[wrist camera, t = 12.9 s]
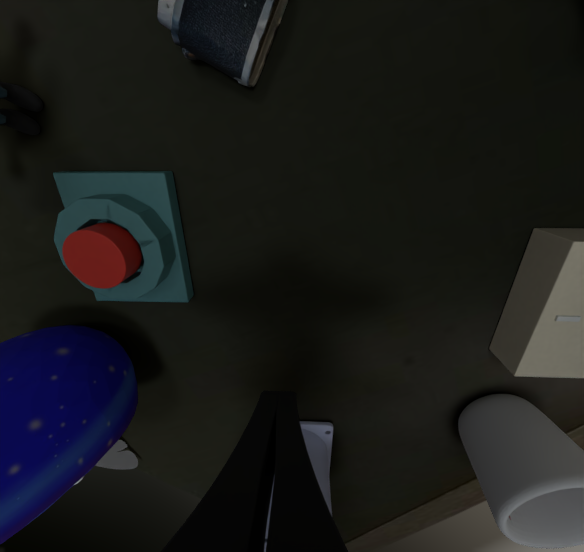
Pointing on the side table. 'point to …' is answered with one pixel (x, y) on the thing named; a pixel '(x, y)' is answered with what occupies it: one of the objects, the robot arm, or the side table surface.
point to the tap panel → (545, 308)
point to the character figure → (23, 100)
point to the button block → (131, 228)
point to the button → (102, 255)
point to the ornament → (57, 414)
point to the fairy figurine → (117, 458)
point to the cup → (526, 471)
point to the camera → (225, 32)
